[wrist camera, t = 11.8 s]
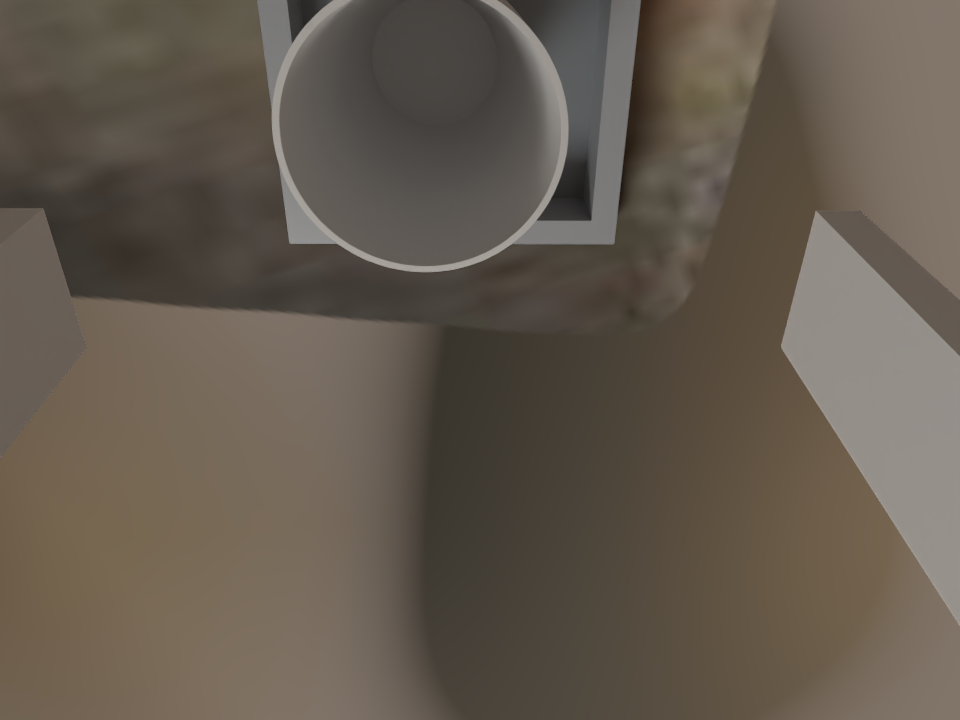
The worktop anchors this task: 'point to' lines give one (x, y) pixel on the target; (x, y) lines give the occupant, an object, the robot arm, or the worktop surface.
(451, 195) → the cup
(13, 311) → the robot arm
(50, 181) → the worktop surface
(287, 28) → the dish rack
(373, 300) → the worktop surface
